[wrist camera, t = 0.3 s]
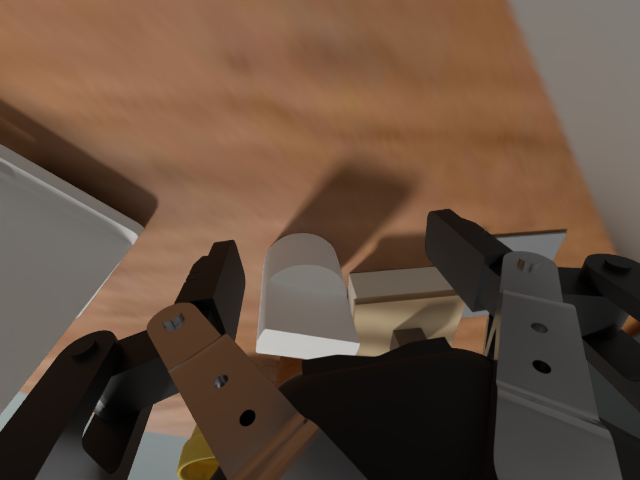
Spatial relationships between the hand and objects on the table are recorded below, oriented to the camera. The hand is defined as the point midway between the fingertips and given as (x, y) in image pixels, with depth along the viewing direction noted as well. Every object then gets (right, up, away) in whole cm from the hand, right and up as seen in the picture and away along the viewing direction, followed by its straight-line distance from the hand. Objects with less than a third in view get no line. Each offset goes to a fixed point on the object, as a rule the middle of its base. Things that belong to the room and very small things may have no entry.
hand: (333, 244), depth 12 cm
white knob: (-3, -3, +23) cm, 23 cm away
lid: (+10, -11, +24) cm, 28 cm away
